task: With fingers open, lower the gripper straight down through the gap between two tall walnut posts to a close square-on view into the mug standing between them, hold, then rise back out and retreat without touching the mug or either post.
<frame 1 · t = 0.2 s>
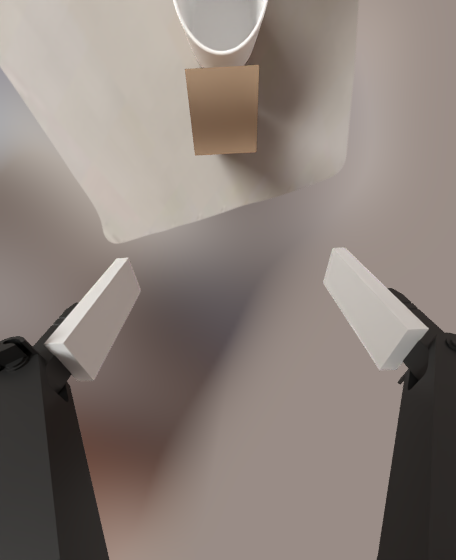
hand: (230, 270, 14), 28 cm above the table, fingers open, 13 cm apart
mug: (219, 12, 25), on the table
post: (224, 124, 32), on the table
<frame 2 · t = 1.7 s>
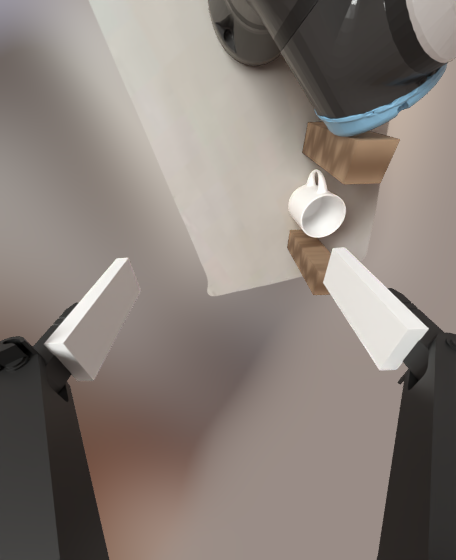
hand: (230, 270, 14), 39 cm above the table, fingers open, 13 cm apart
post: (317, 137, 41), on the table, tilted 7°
mug: (305, 194, 48), on the table
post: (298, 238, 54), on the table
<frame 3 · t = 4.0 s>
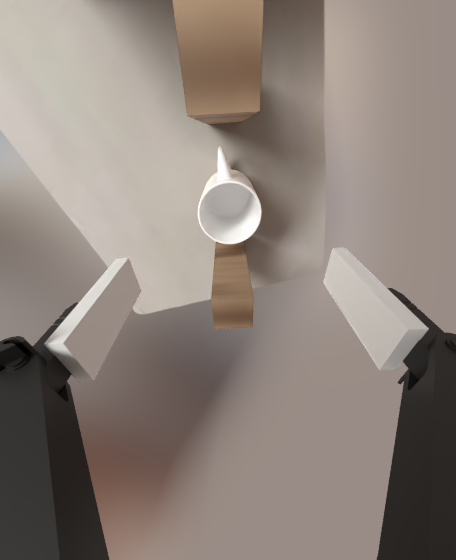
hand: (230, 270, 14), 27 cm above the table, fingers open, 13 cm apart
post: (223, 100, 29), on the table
mug: (227, 184, 35), on the table
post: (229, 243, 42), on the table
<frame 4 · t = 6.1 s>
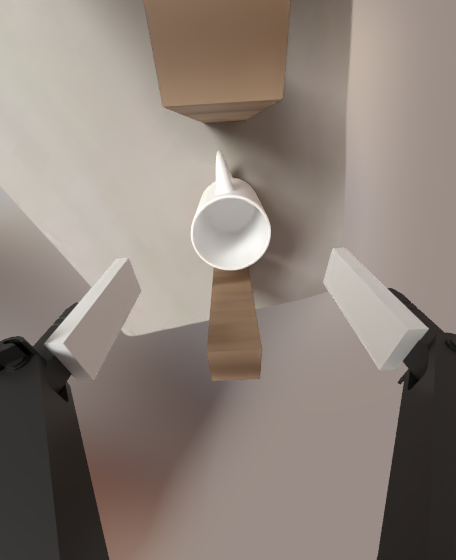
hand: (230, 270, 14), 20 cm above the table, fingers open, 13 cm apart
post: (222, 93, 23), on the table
mug: (227, 195, 30), on the table
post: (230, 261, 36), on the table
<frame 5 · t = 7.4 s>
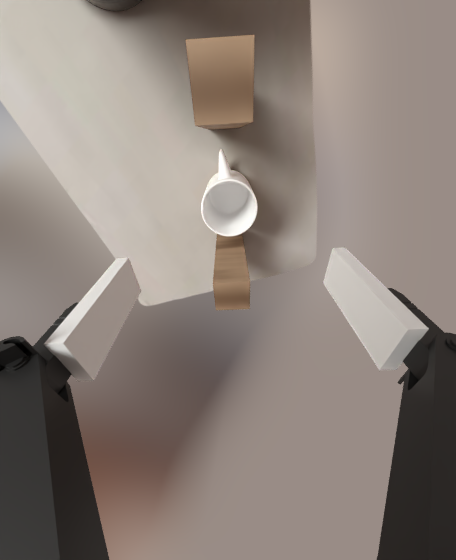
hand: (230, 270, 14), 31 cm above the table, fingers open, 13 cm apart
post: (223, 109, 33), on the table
mug: (227, 184, 39), on the table
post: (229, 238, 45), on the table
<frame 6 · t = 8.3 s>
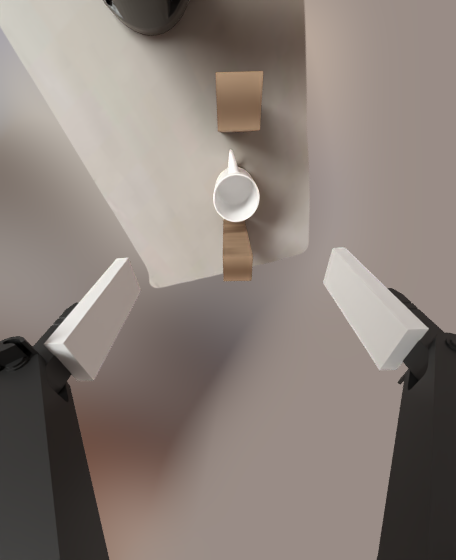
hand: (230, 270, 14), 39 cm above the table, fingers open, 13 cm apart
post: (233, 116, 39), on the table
mug: (233, 179, 46), on the table
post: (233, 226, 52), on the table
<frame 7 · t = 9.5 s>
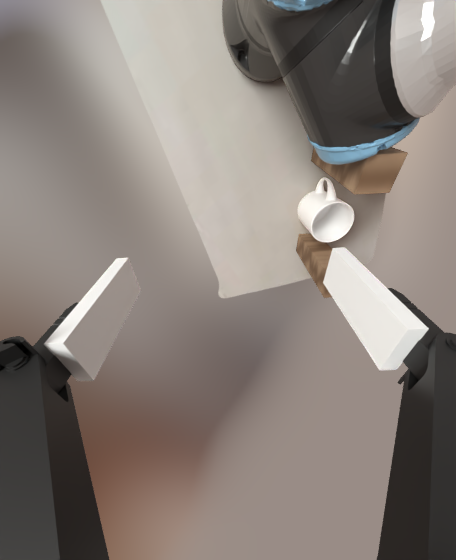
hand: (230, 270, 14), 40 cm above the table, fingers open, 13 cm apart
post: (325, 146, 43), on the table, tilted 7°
mug: (314, 200, 50), on the table
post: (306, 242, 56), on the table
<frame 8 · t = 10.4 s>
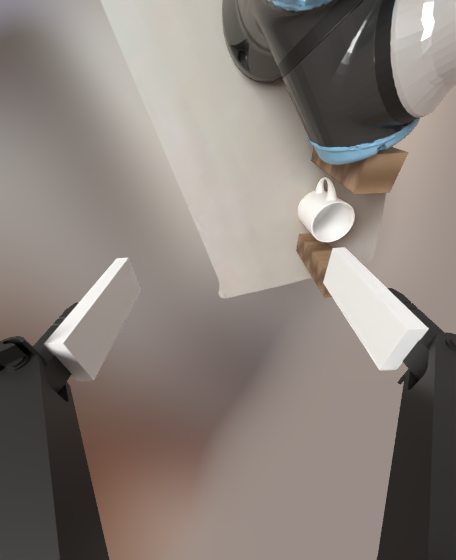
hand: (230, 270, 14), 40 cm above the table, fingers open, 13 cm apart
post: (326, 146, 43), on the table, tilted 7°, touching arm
mug: (314, 200, 50), on the table
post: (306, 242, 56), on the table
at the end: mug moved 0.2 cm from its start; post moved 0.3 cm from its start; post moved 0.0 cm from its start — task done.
